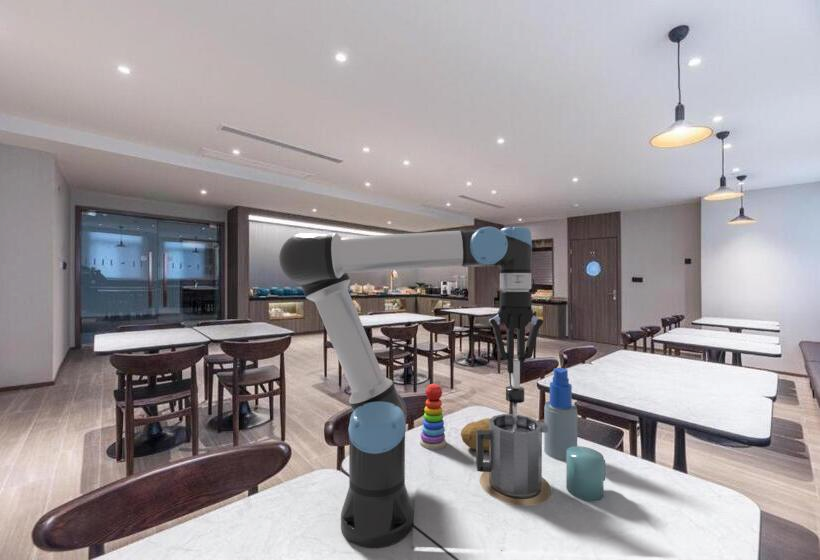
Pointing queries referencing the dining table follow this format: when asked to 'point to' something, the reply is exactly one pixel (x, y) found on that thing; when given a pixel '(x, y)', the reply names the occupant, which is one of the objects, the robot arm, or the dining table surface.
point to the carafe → (512, 456)
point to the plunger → (514, 406)
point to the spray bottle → (560, 417)
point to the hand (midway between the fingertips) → (515, 386)
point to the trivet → (536, 500)
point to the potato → (470, 433)
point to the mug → (585, 473)
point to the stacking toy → (433, 420)
